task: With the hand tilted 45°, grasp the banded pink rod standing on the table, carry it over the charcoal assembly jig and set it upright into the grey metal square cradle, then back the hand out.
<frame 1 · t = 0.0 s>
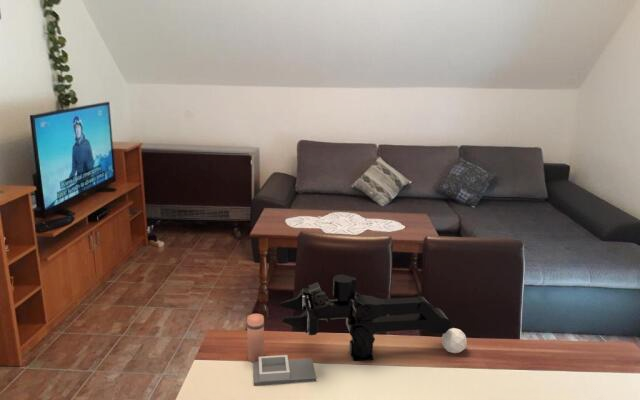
hand: (281, 312, 151), 17 cm above the table, tool horizontal, fingers open, 9 cm apart
geometric ball: (452, 351, 163), on the table
banded pink rod: (256, 358, 157), on the table
jig: (283, 372, 150), on the table
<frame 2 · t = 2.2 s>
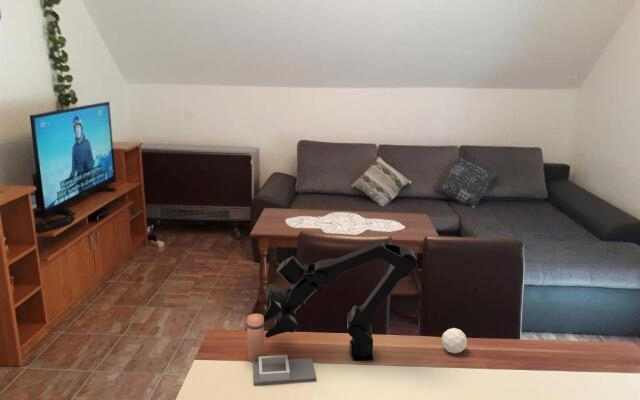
hand: (263, 328, 155), 10 cm above the table, tool tilted 45°, fingers open, 9 cm apart
nothing on the table moved.
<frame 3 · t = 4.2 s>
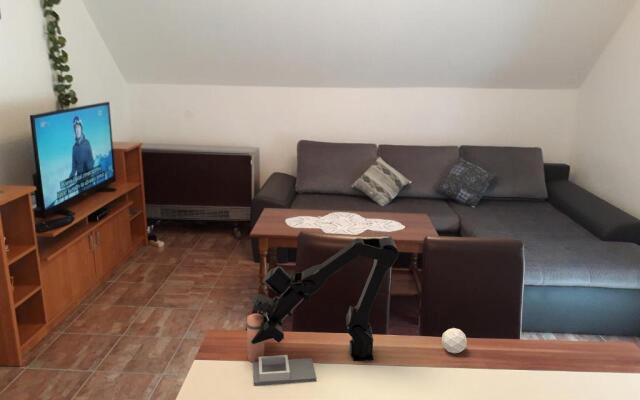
hand: (251, 338, 154), 7 cm above the table, tool tilted 45°, fingers closed on banded pink rod, 5 cm apart
banded pink rod: (256, 358, 157), on the table, touching gripper
everything else where it was.
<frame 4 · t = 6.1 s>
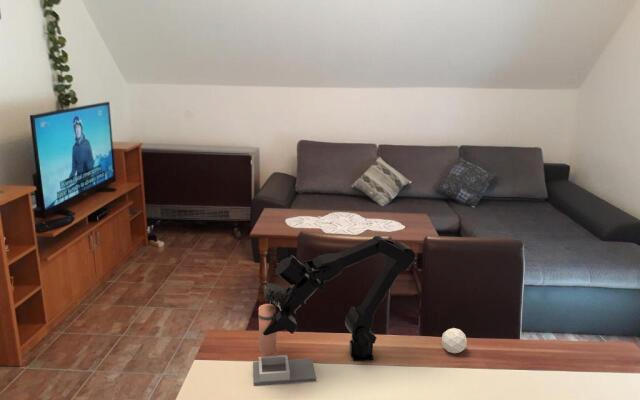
hand: (263, 329, 148), 13 cm above the table, tool tilted 45°, fingers closed on banded pink rod, 5 cm apart
banded pink rod: (268, 350, 150), point 6 cm above the table, touching gripper
everything else where it was.
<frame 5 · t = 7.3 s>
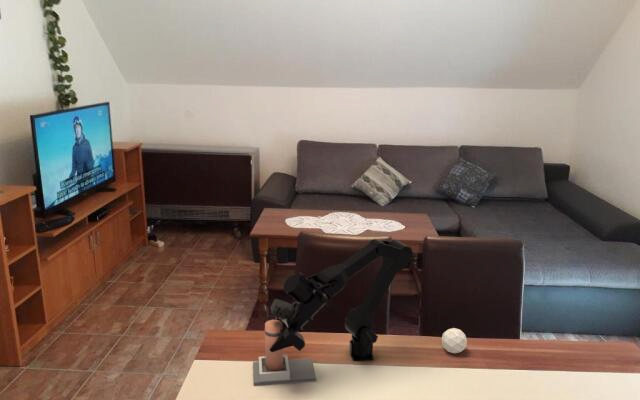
hand: (269, 345, 146), 10 cm above the table, tool tilted 45°, fingers closed on banded pink rod, 5 cm apart
banded pink rod: (274, 366, 148), point 3 cm above the table, touching gripper
everything else where it was.
when the fingers open (9 cm above the table, at t = 8.1 s): banded pink rod drops 1 cm, resting on jig.
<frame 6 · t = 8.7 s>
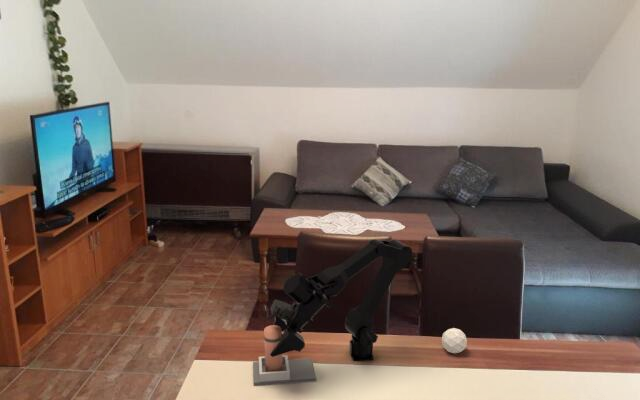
hand: (269, 346, 146), 10 cm above the table, tool tilted 45°, fingers open, 9 cm apart
banded pink rod: (274, 371, 149), point 1 cm above the table, touching jig
everything else where it was.
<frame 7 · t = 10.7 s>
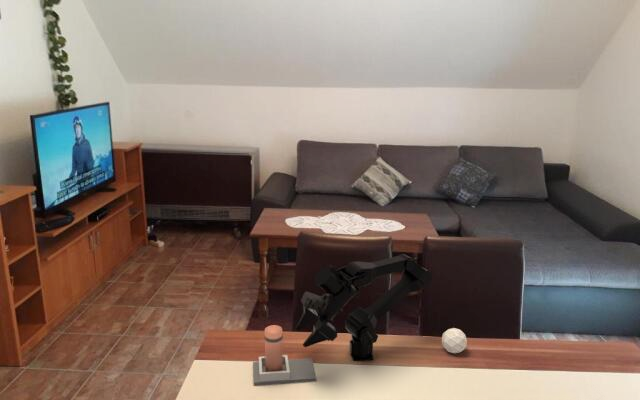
hand: (300, 337, 149), 10 cm above the table, tool tilted 45°, fingers open, 9 cm apart
nothing on the table moved.
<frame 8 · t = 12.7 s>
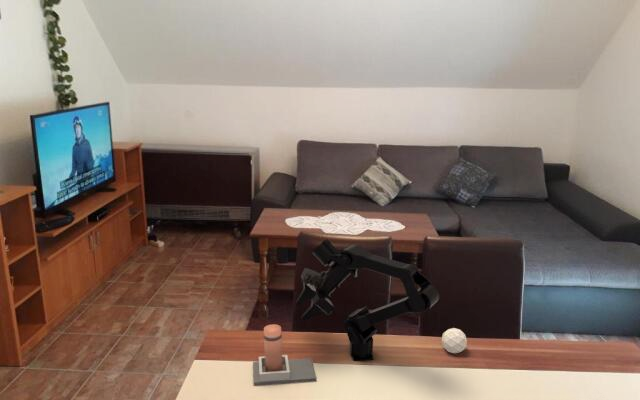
hand: (299, 311, 158), 14 cm above the table, tool tilted 45°, fingers open, 9 cm apart
nothing on the table moved.
at the end: banded pink rod 0.0 cm from the target spot on the jig, point 1.1 cm above the jig's base; banded pink rod tilted 2°; the gripper is holding nothing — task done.
